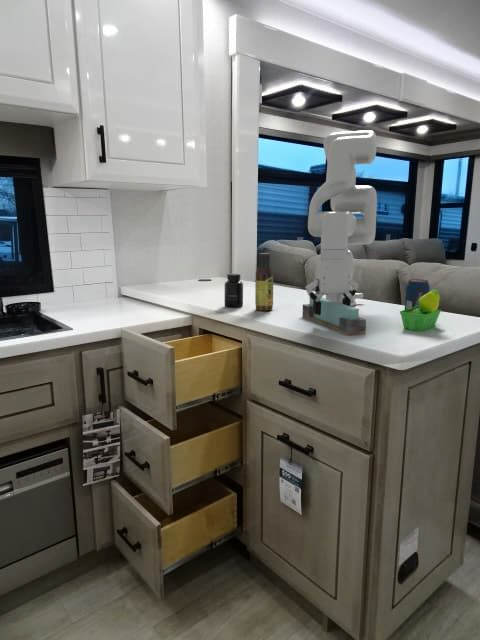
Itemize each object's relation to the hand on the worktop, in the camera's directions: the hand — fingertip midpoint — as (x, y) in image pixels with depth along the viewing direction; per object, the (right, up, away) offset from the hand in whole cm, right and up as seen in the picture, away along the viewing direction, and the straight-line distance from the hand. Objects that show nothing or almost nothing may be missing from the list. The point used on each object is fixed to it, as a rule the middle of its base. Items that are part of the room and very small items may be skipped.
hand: (331, 313), depth 134 cm
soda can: (+29, -2, +9) cm, 30 cm away
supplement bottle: (-30, +3, +31) cm, 43 cm away
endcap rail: (0, -3, +1) cm, 4 cm away
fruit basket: (+25, -5, -4) cm, 26 cm away
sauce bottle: (-19, +1, +24) cm, 31 cm away
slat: (0, -3, +1) cm, 3 cm away
